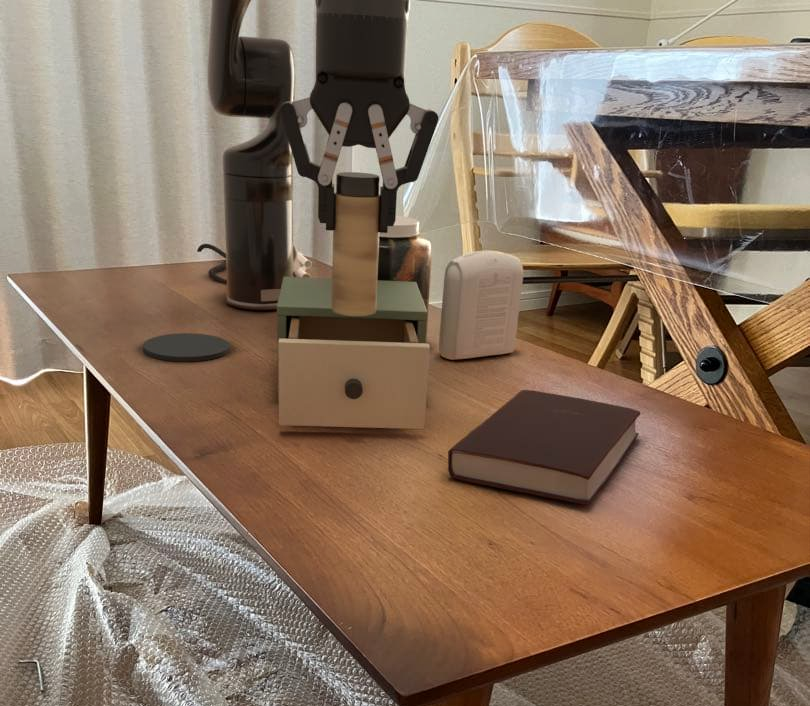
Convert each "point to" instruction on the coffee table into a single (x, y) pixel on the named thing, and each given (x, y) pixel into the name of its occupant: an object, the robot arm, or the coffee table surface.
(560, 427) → the book
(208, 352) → the coaster
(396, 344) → the drawer
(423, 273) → the jar
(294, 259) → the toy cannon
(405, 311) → the cabinet
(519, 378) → the coffee table surface
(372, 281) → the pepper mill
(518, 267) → the cream rounded block
